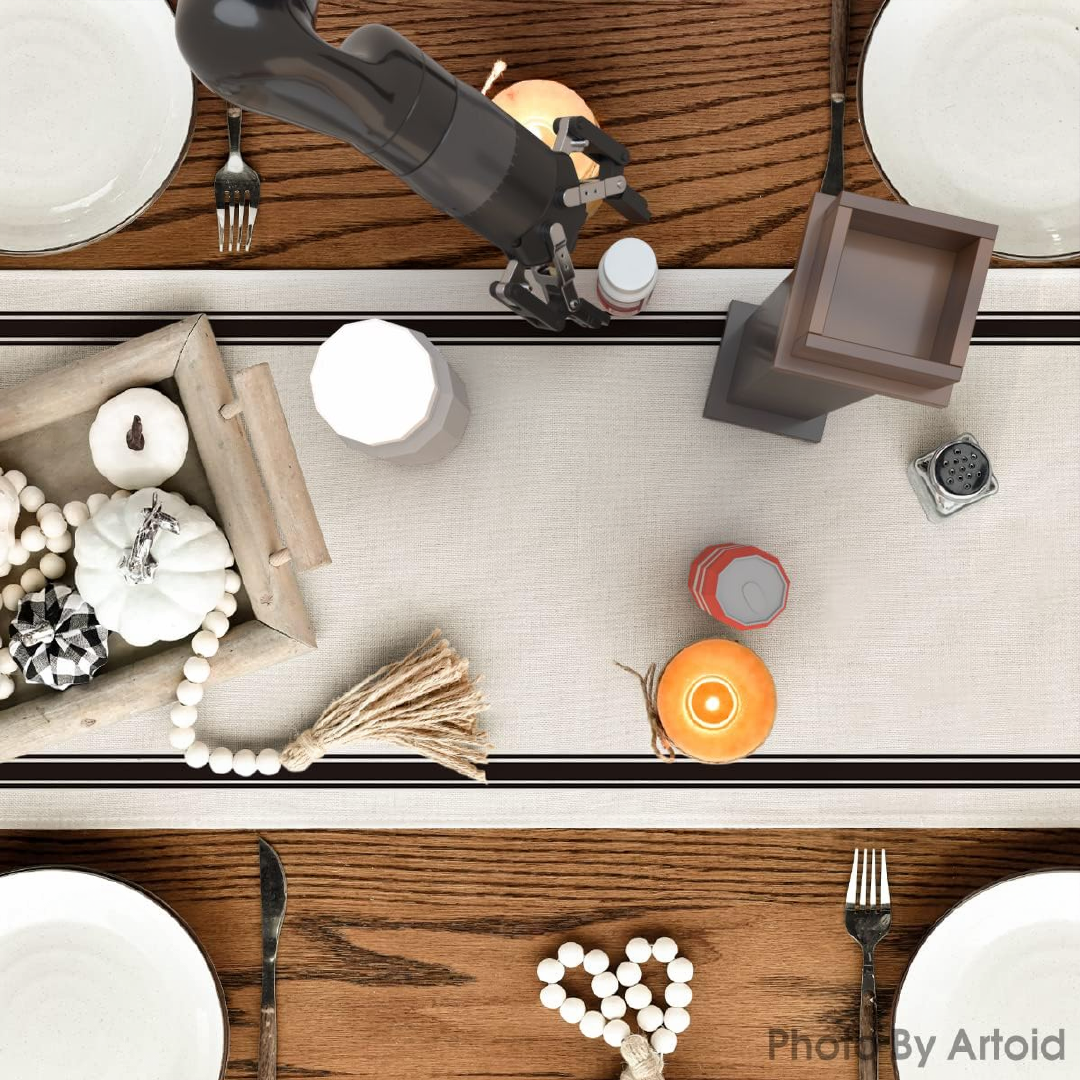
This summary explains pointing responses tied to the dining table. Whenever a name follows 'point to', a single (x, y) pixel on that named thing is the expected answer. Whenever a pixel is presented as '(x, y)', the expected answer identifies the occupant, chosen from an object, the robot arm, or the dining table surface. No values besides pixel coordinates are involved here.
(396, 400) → the jar
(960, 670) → the dining table surface
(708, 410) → the pedestal
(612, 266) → the pill bottle
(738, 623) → the beverage can
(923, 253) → the socket cup
